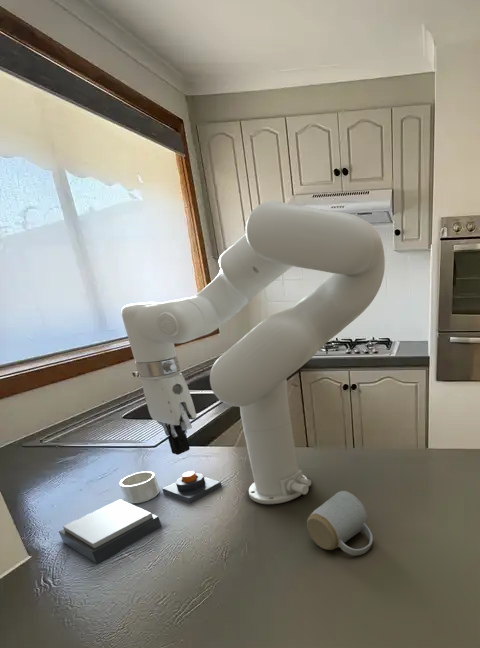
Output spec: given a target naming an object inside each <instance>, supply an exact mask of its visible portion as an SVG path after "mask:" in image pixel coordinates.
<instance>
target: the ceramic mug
mask: <svg viewBox="0 0 480 648" xmlns="http://www.w3.org/2000/svg"><path fill="white" fill-rule="evenodd" d="M367 524H368V514H367V511H366V509H365V506H364V505H363V503H362V502H361V501H360V500H359V499H358V498H357V497H356V496H355V495H354V494H353V493H351V492H350V491H346V490H340V491H337V492H336V493H335V494H334V495H332V496H331V497H330V498H329V499H328V500H326V501H325V502H323V503H322V504H321V505H319V506H318V507H317V508H316V509H314V510H313V512H311V513H310V514H309V516H308V518H307V519H306V528H307V529H306V530H307V532H308V534H309V536H310V538H311V539H312V540H313V542H314V543H315V544H316V545H317V546H318V547H320V548H321V549H324V550H327V551H333V550H335V549H338V548H339V549H341V551H343V552H344V553H346V554H349V556H350V555H351V556H361V555H364V554H366V553H367V552H368V551H369V550H370V549H371V547H372V545H373V542H374V538H373V534H372V532H371V529H370V528H369V527H368V525H367ZM361 531H363V532H364V534H365V535H366V536H367V538H368V544H367V545H365V546H364V547H361V548H353V547H351V546H348V544H346V542H347V541H349V540H350V539H352V538H353V537H354V536H356V535H357V534H358V533H361Z"/></svg>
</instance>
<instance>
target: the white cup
mask: <svg viewBox="0 0 480 648" xmlns="http://www.w3.org/2000/svg"><path fill="white" fill-rule="evenodd" d="M119 486H120V490H121V492H122V495H123V498H124V501H126V502H128V503H130V504H141V503H142V504H143V503H145V502H148V501H150V500H152V499H154V498H155V497H157V495H158V494H159V493H160V491H161V490H160V487H159V484H158V481H157V477H156V474H155V472H153V471H149V470H148V471H146V470H145V471H139V472H135V473H131V474H129V475H127V476H125V477H124V478H122V479H121V480H120V481H119Z"/></svg>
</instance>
